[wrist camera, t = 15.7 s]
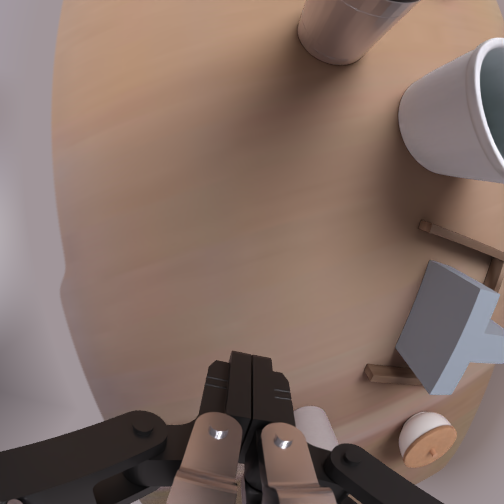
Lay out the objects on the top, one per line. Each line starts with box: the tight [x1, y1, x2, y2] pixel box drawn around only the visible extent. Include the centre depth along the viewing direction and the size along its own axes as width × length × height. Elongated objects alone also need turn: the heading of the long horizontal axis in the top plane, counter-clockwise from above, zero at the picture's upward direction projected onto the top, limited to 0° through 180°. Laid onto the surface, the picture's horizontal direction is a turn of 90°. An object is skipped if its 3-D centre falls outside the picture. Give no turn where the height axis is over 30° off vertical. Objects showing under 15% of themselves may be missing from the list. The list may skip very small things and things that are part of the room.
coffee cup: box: [293, 406, 339, 451], centre depth 38 cm, size 10×10×15 cm
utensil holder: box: [398, 38, 504, 184], centre depth 25 cm, size 15×15×18 cm
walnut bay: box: [364, 220, 504, 385], centre depth 39 cm, size 23×18×3 cm
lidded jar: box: [399, 412, 457, 468], centre depth 42 cm, size 11×11×9 cm
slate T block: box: [395, 260, 504, 395], centre depth 34 cm, size 14×12×12 cm
